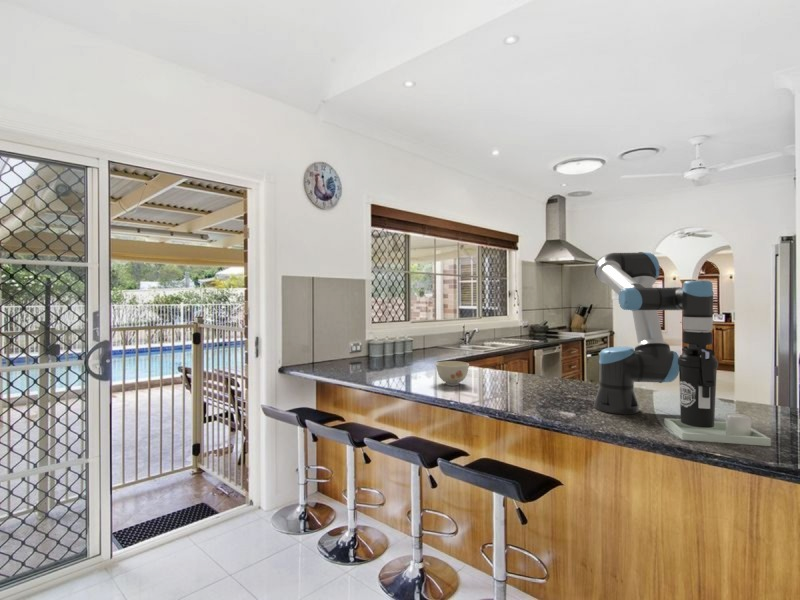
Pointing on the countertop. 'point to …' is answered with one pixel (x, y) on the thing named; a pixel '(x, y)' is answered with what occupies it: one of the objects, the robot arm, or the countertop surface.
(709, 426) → the water bottle
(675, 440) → the countertop surface
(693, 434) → the tray
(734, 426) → the white domed cylinder
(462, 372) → the bowl
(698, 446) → the countertop surface
